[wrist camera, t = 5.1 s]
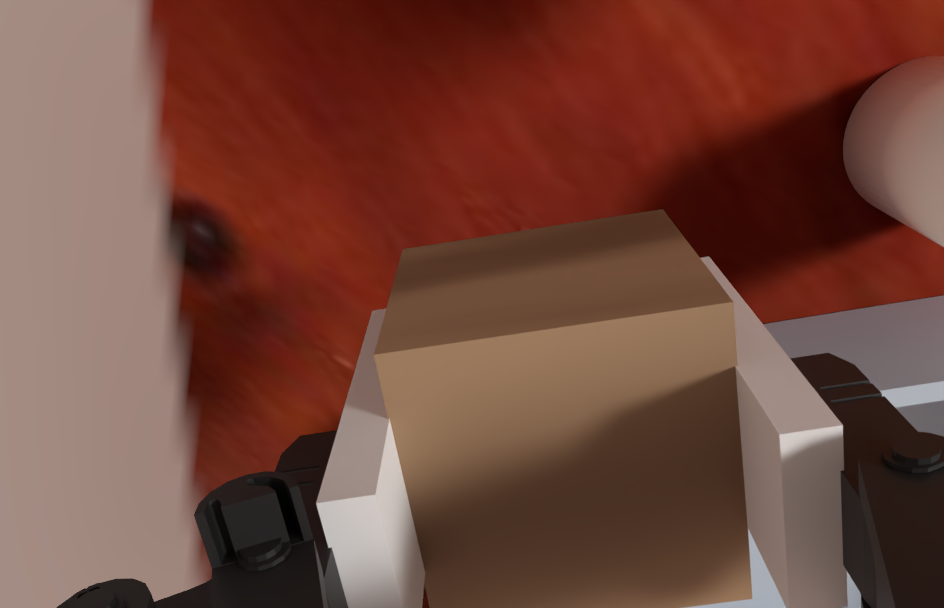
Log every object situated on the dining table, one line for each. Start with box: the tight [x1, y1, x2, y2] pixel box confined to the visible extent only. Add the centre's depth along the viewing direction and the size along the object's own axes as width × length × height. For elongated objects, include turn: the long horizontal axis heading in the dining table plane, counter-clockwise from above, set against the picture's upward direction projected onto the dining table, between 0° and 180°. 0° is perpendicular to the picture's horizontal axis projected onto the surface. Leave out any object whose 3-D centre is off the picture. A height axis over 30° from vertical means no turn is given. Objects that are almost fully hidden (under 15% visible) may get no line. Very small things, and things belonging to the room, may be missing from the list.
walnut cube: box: [374, 209, 752, 608], centre depth 15 cm, size 5×5×5 cm
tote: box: [684, 295, 944, 608], centre depth 30 cm, size 15×19×6 cm
